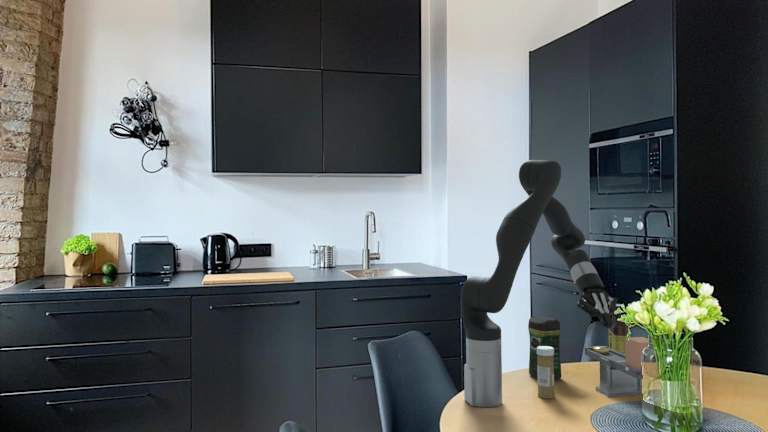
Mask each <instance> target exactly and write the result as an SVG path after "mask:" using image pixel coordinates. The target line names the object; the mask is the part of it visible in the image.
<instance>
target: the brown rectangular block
mask: <svg viewBox="0 0 768 432" xmlns="http://www.w3.org/2000/svg"><path fill="white" fill-rule="evenodd" d="M629 338H630V339H629V341H628V338H625V353H626V366H628V367H630V368H633V369H635V370H642V365H641V356H642V351H643V349H644V348H645V347H647V346H648V344H649V339H650V338H647V337H644V336H634V337H629Z"/></svg>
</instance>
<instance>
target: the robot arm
mask: <svg viewBox="0 0 768 432" xmlns="http://www.w3.org/2000/svg"><path fill="white" fill-rule="evenodd" d="M518 178H519V179H518V180H519V183H520V185H521V187H522V189H523V190H524V191H525V193H526V194H527V195H528V197H526V198H525V199H524V200H523V201H521V202H520V203H518V204H517V205H515V207H513V208H512V209H511V210H509V211H508V212H507V213H506V215H505V216H504V217H503V219H502V221H501V223H500V225H499V227H498V230H497V232H496V235H495V244H496V248H497V249H496V250H497V255H498V262H497V265H496V267H495V269H494V272H493V274H492V275H491V276H490V277H489V276H488V277H487V276H470V277H468V278H467V279H466V280H465V281H464V283H463V286H462V290H461V309H462V310H461V311H462V322H463V323H462V325H463V328H464V329H465V338H466V339H465V341H466V342H465V346H466V347H465V348H466V349H465V350H466V351H465V352H466V354H465V355H466V356H465V357H466V359H465V361H466V363H464V365H463V372H464V373H463V375H464V376H463V383H464V387H463V388H464V391H463V392H464V394H463V395H464V400H465V401H466V402H467V403H468V404H469V406H470V407H479V408H494V407H499V406H501V405H502V404H503V385H502V384H503V375H502V374H503V372H502V369H503V367H502V364H503V363H502V362H503V361H502V359H503V358H502V329H501V326H499V325H498V324H497V323H495V322H494V321H492V319H491V318H490V317H489V315H488V314H498V313H500V312H501V311H502V310H503V309H504V308H505V306H506V304H507V302H508V299H509V296H510V293H511V290H512V287H513V285H514V282H515V278H516V275H517V272H518V270H519V267H520V265H521V262H522V261H523V258H524V255H525V253H526V251H527V248H528V247H529V245H530V243H531V241H532V238H533V236H534V233H535V231H536V229H537V227H538V224H539V222H540V220H541V217H542V216H543V217H544V219H545V221H546V223H547V225H548V227H549V229H550V231H551V232H552V234H553V235H552V237H551V239H550V243H551V248H552V249H553V250H554V251H555V252H556V253H557V254H558V256H560V257H561V258H562V260H563V261H564V262H565V264H566V266H567V268H568V271H569V272H570V275H571V278H572V281H573V283H574V285H575V287H576V290H577V291H578V294H579V296H580V298H579V300H578V301H577V303H576V306H577V307H578V308H579V309H581V310H582V311H584V312H585V313H586V314H588V315H589V316H591V318H592V317H597V319H599V322H600V323H601V326H602V327H604V329H609V328H611V326H612V324H613V321H612V313H613V311H614V309H615V307H616V304H618V300H619V298H618V297H616V296H615V297H611V296H610V295H609V294H608V292H607V291H606V290H605V285H604V283H603V281H602V280H601V277H600V276H599V273H598V272H597V270H596V268H595V267H594V265H593V263H592V261H591V260H590V258H589V256H588V254H587V252H586V251H585V250H584V249H580V248H583V246H584V245H585V243H586V238H585V235H584V233H583V231H582V230H581V229H579V227H577V226H576V225H575V224H574V222H573V221H572V218H571V217H570V214H569V212H568V210H567V209H566V207H565V206H564V205H563V204H562V202H560V201H559V200H558V199H556V197H554V194H555V192H556V190H557V189H558V186H559V185H560V182H561V181H560V180H561V178H562V167H561V165H560V163H559V162H558V161H555V160H549V159H547V160H546V159H530V160H529V159H528V160H525V161H523V162H522V164H520V166H519V170H518ZM608 306H609V307H608Z"/></svg>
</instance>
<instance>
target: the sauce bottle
mask: <svg viewBox="0 0 768 432" xmlns="http://www.w3.org/2000/svg"><path fill="white" fill-rule="evenodd" d="M621 305H624V306H625V307H626V305H625V304H621V303H617V304H616V307H615V309H614V311H615V310H616V309H617V308H619V307H620V306H621ZM614 311H613V313H612V314H611V319H612V321H613V324H612V326H611V328H608V348H609V349H612V350H614V351H617V352H619V353H622V354H624V355H626V353H625V338H627V333H628V327H629V326H628V327H627V325H625V324H624V323H622V322H620V321H617V319H618V318H619V317H620V316H621V315H622V314H617V315H615V314H614Z"/></svg>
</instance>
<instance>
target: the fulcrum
mask: <svg viewBox="0 0 768 432" xmlns="http://www.w3.org/2000/svg"><path fill="white" fill-rule="evenodd" d="M595 391H597V392H598V393H600V394H602V395H603V396H606V397H607V398H610V397H611V398H613V397H626V396H639V395H641V396H642V395H643V394H642V379H637V378H634V377H632V376H630V375H628V374H626V373H624V372H621V371H619V370H617V369H615V368H613V367H610V361H609V360H607V359H605V358H603V357H600V361H599V386H595Z"/></svg>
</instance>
